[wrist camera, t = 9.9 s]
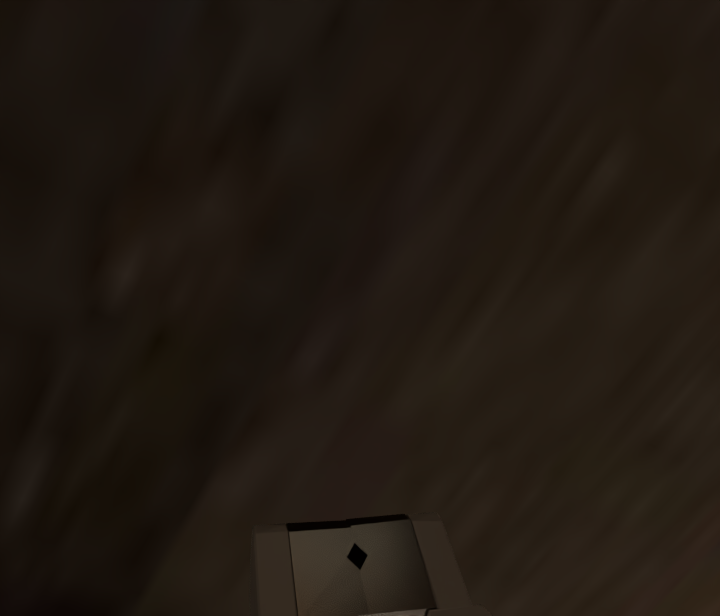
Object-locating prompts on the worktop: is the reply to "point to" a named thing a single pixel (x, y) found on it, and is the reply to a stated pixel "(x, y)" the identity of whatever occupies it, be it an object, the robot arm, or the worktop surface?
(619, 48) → the worktop surface
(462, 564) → the worktop surface
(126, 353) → the worktop surface
